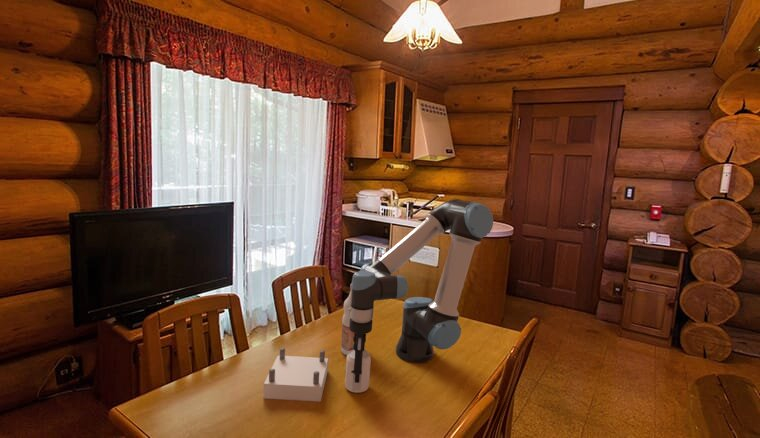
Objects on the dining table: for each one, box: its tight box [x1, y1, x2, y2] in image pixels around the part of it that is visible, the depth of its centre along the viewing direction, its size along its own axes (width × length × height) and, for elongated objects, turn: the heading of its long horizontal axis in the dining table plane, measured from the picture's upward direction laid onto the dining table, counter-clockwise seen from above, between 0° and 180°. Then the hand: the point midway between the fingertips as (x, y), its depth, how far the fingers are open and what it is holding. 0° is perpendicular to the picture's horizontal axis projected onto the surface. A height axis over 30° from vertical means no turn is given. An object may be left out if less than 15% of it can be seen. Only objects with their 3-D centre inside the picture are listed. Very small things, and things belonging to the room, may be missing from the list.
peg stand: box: [263, 347, 329, 402], centre depth 134 cm, size 18×18×8 cm
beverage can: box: [344, 349, 372, 394], centre depth 134 cm, size 8×8×12 cm
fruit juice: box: [340, 282, 354, 356], centre depth 157 cm, size 9×9×28 cm
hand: (357, 382), depth 134 cm, fingers closed on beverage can, 8 cm apart
